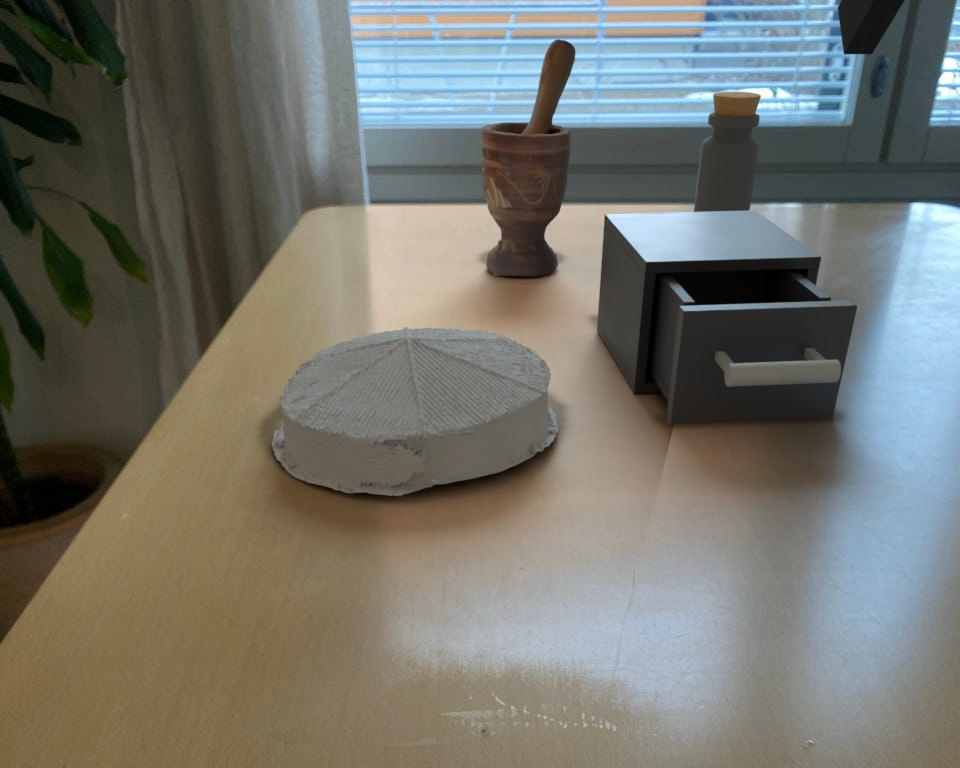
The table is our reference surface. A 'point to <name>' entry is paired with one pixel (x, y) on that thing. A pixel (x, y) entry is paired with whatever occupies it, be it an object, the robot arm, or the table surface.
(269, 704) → the table surface
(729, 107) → the bottle
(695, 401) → the drawer
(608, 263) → the cabinet
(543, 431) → the grey round squat piece
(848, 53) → the robot arm
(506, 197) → the mortar and pestle
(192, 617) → the table surface
